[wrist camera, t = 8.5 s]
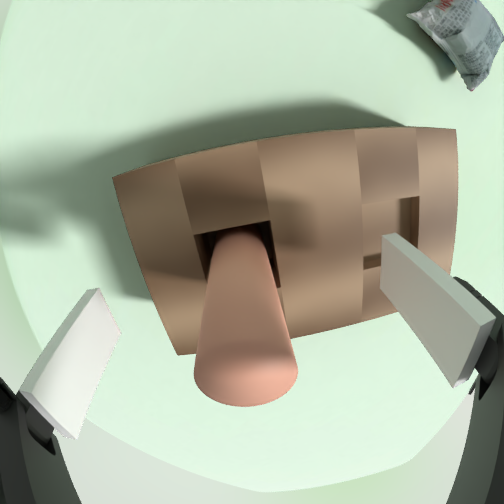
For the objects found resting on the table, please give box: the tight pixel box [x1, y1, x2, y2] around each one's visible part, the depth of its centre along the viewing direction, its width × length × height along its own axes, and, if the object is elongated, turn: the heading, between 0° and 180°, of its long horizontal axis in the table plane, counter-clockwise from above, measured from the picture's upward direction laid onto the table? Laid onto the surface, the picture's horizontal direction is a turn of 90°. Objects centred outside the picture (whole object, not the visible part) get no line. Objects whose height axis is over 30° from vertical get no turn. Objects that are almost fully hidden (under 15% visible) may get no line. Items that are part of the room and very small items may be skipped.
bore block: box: [112, 126, 458, 355], centre depth 17 cm, size 12×20×6 cm, turn 101°
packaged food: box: [406, 0, 504, 92], centre depth 11 cm, size 9×12×5 cm
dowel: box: [194, 223, 298, 407], centre depth 13 cm, size 3×3×12 cm
